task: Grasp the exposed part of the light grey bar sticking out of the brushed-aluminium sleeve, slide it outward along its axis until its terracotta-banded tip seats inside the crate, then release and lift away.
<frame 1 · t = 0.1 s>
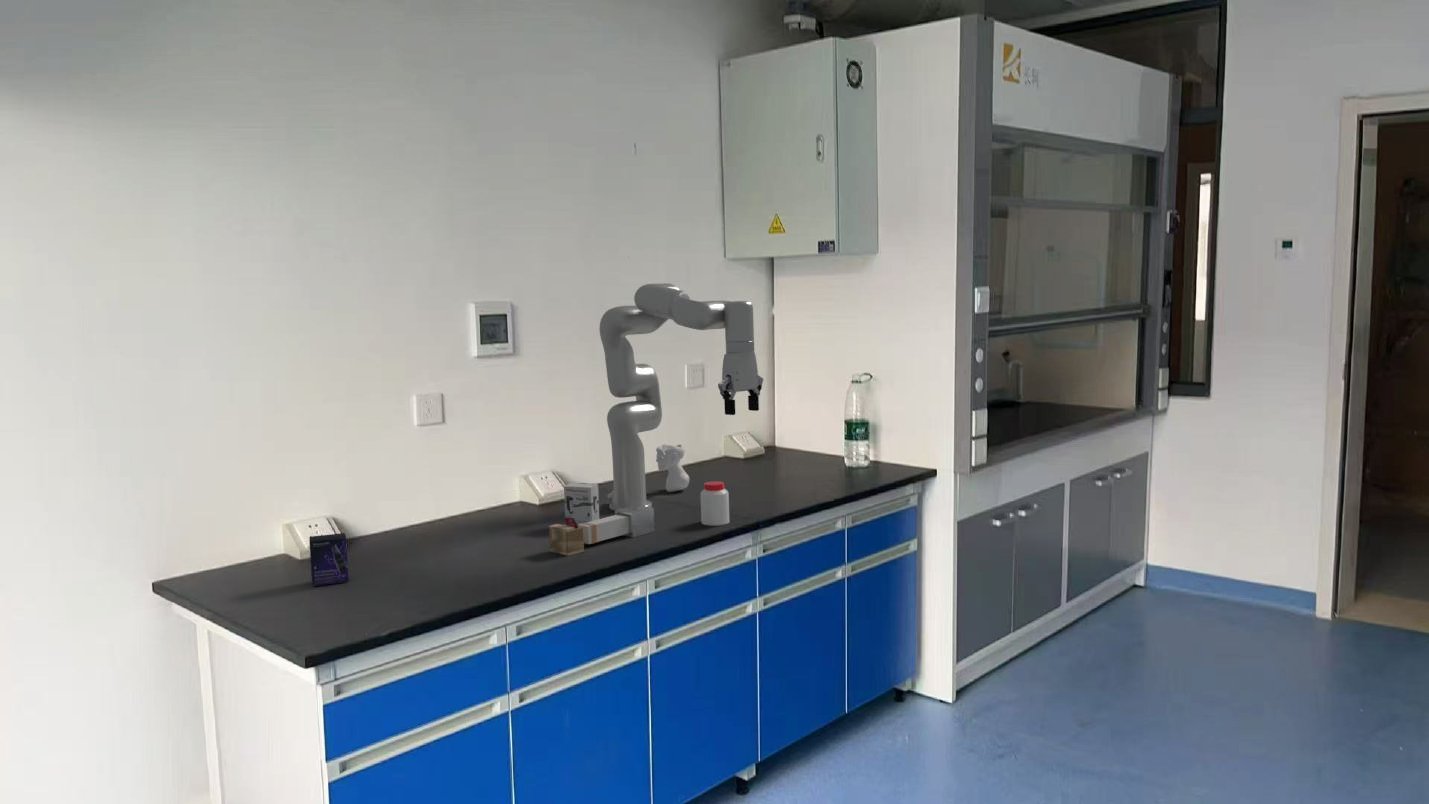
hand: (742, 412, 267), 31 cm above the counter, fingers open, 9 cm apart
light grey bar: (615, 525, 264), point 3 cm above the counter, slide at 0.0 cm
pill bottle: (715, 523, 278), on the counter
white bust sculpture: (672, 492, 322), on the counter
crate: (567, 551, 252), on the counter
sleeve: (635, 532, 269), on the counter
box: (330, 582, 232), on the counter
ink box: (582, 526, 279), on the counter
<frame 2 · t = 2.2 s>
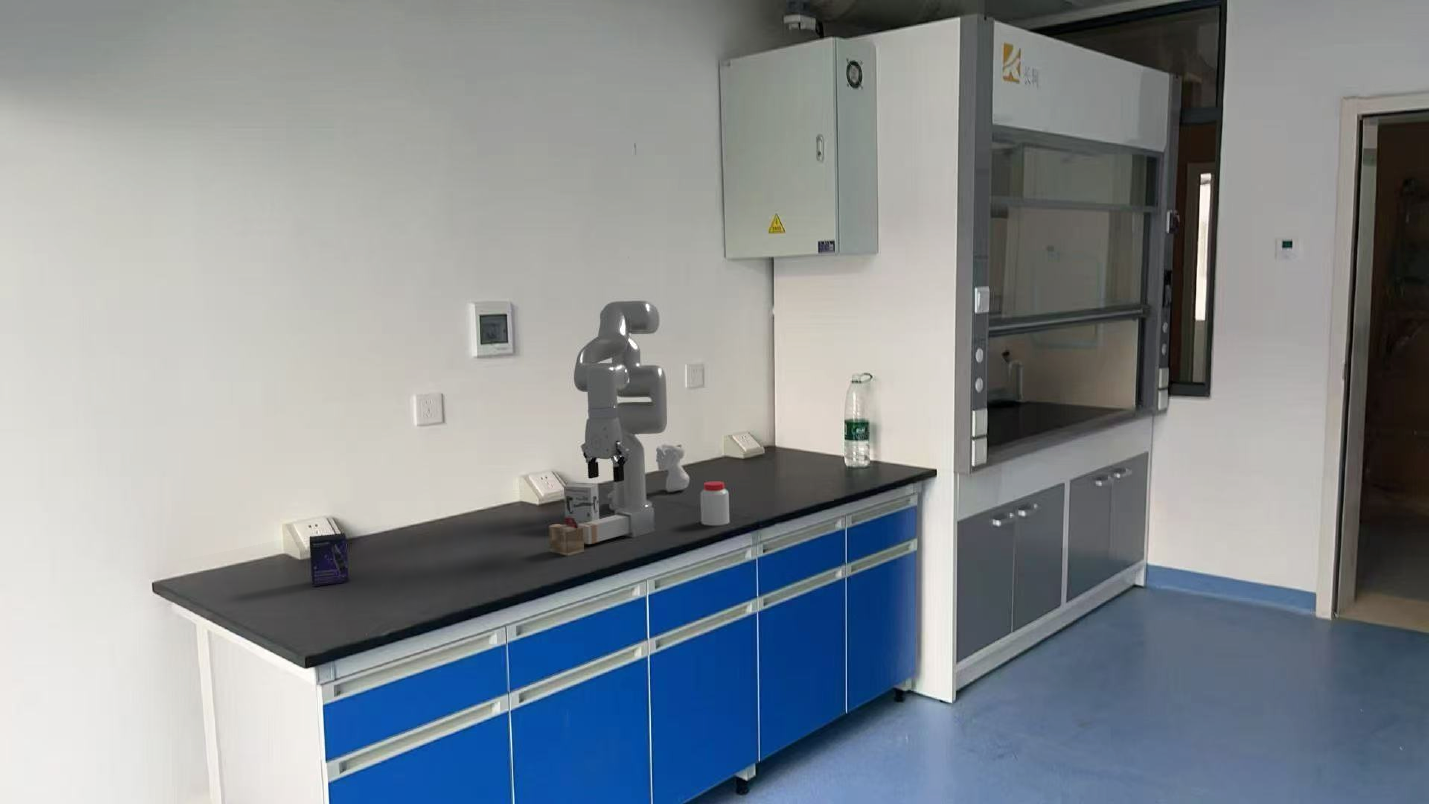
hand: (606, 479, 260), 16 cm above the counter, fingers open, 9 cm apart
nothing on the counter moved.
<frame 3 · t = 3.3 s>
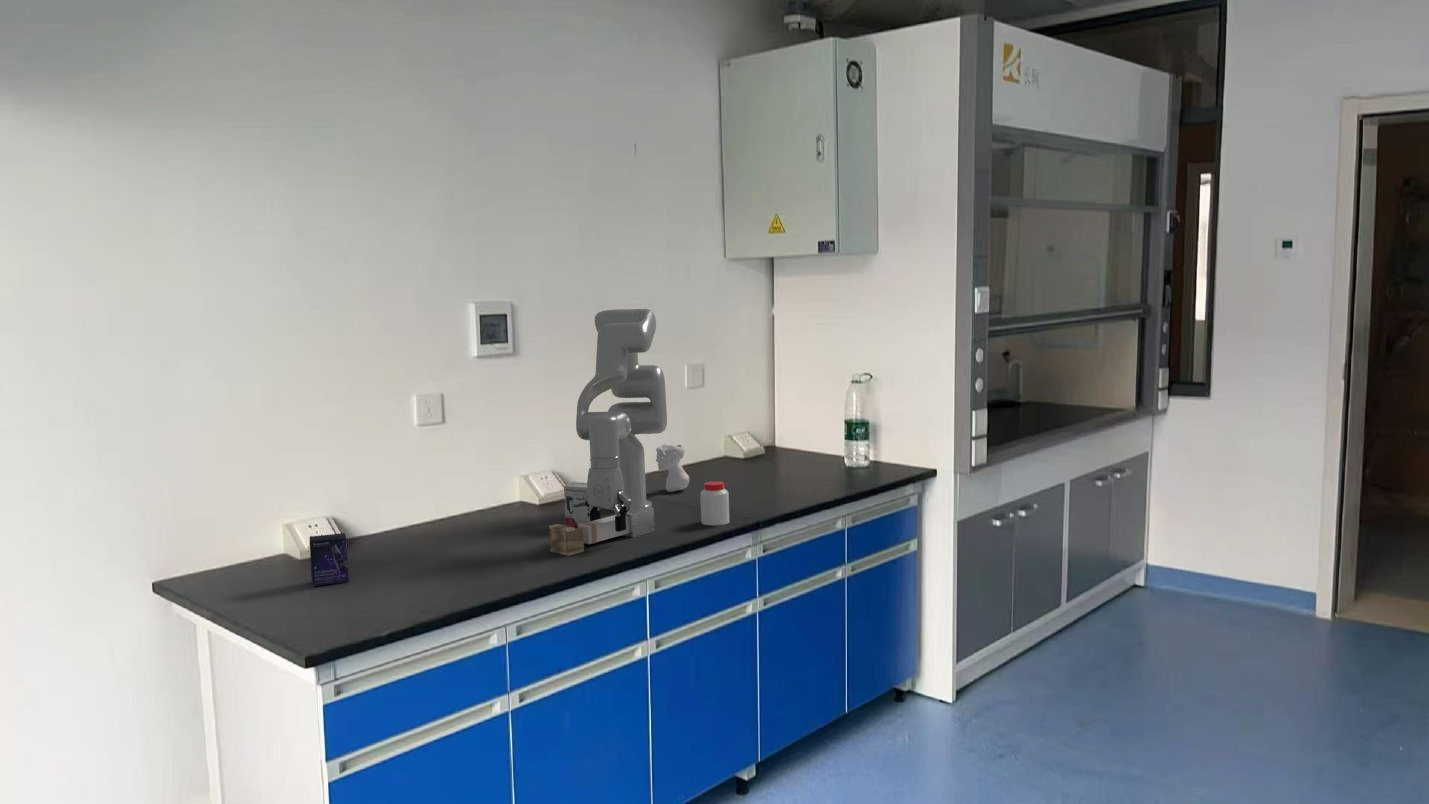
hand: (608, 528, 261), 3 cm above the counter, fingers open, 9 cm apart
nothing on the counter moved.
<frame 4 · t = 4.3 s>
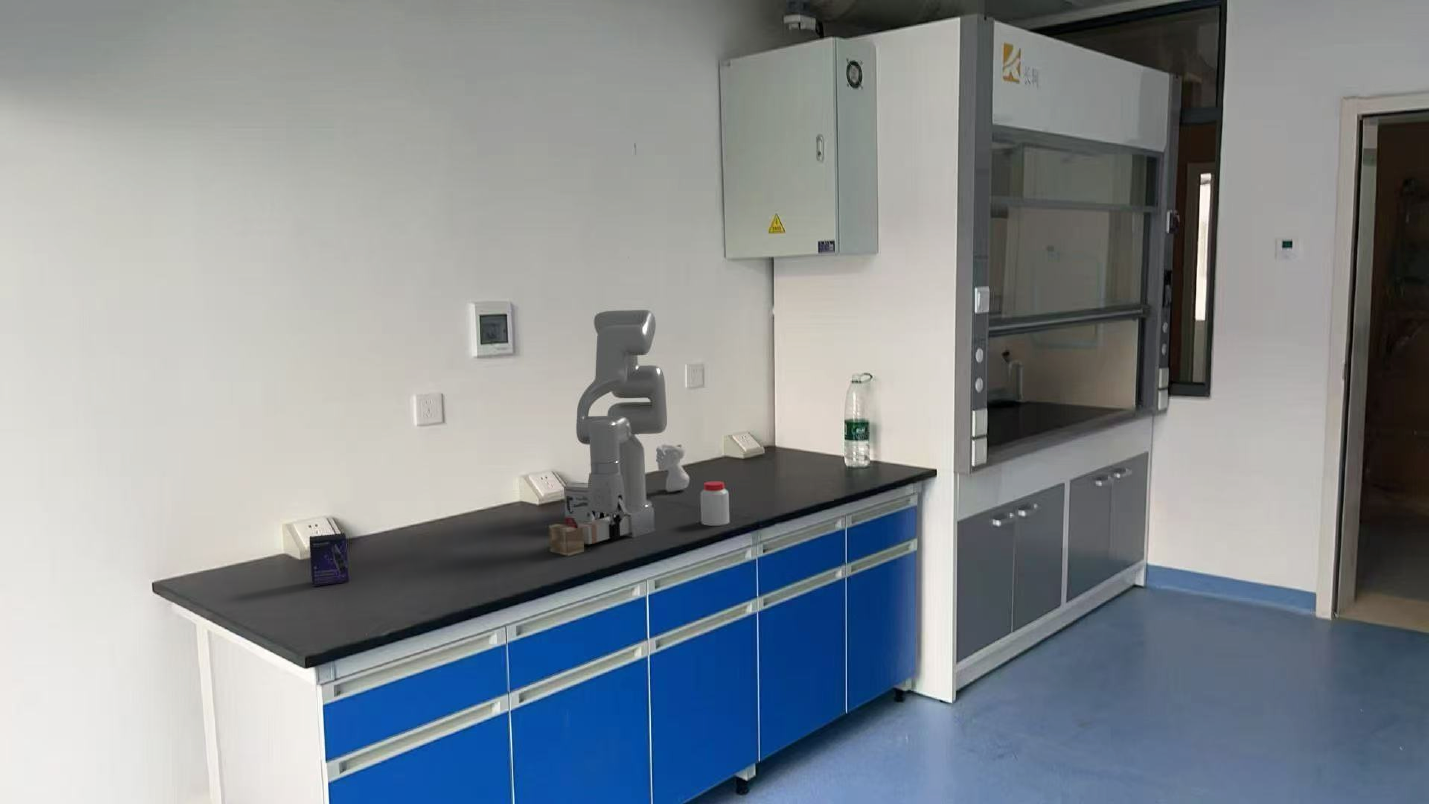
hand: (608, 536, 262), 1 cm above the counter, fingers closed on light grey bar, 4 cm apart
light grey bar: (615, 525, 264), point 3 cm above the counter, slide at 0.0 cm, touching gripper
everything else where it was.
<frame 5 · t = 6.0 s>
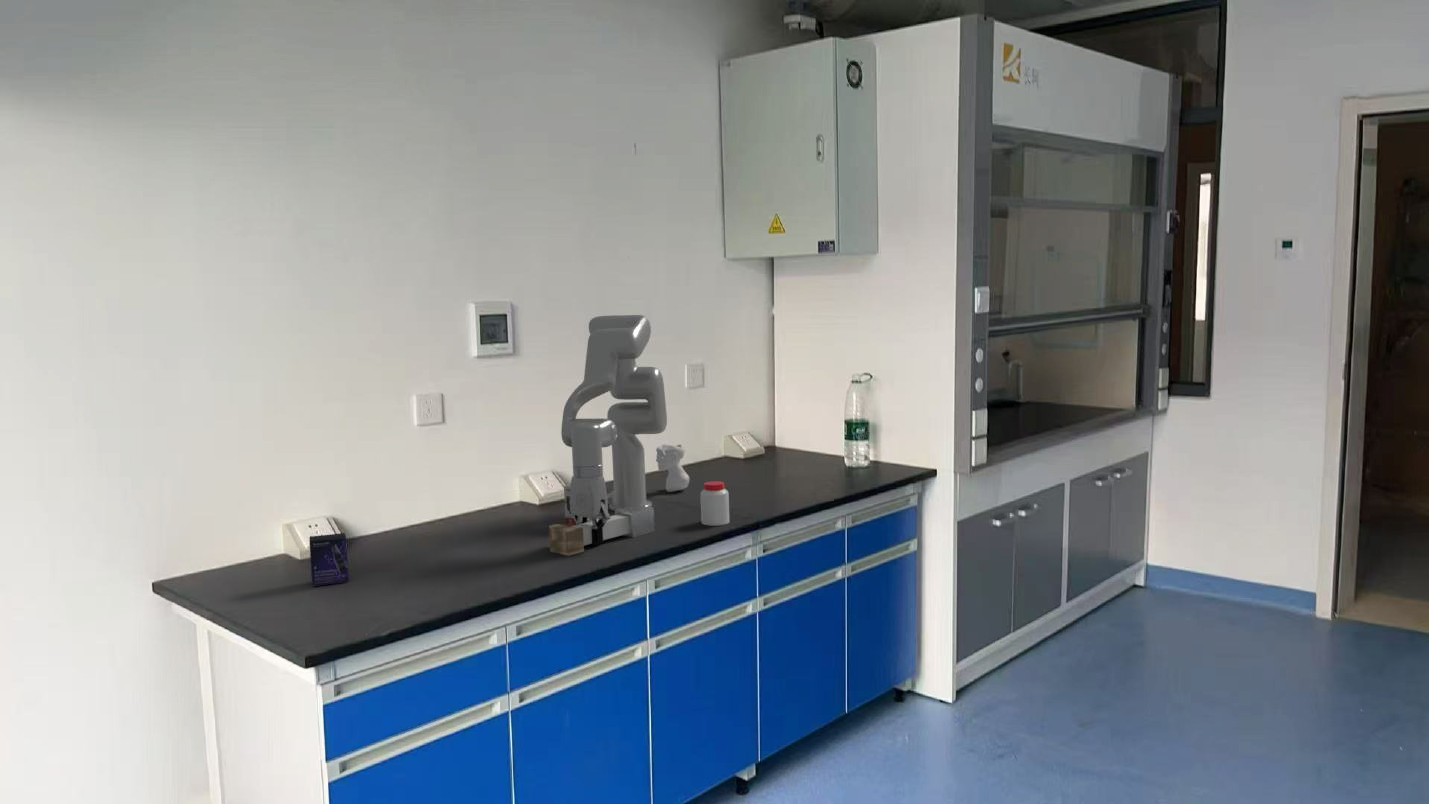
hand: (591, 541, 258), 1 cm above the counter, fingers closed on light grey bar, 4 cm apart
light grey bar: (598, 530, 259), point 3 cm above the counter, slide at 5.9 cm, touching gripper
everything else where it was.
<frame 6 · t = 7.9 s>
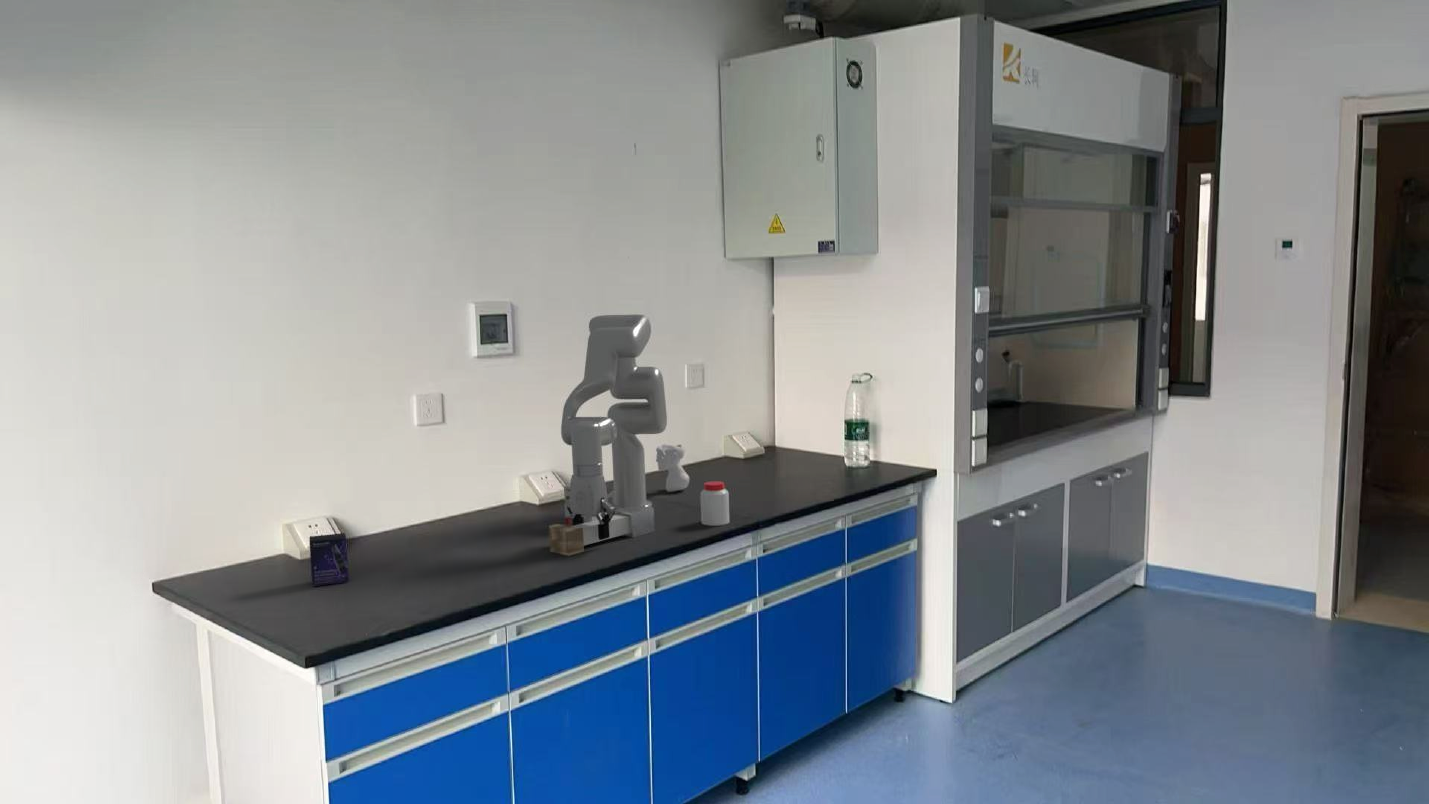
hand: (591, 535, 258), 2 cm above the counter, fingers open, 9 cm apart
light grey bar: (598, 530, 259), point 3 cm above the counter, slide at 6.0 cm
everything else where it was.
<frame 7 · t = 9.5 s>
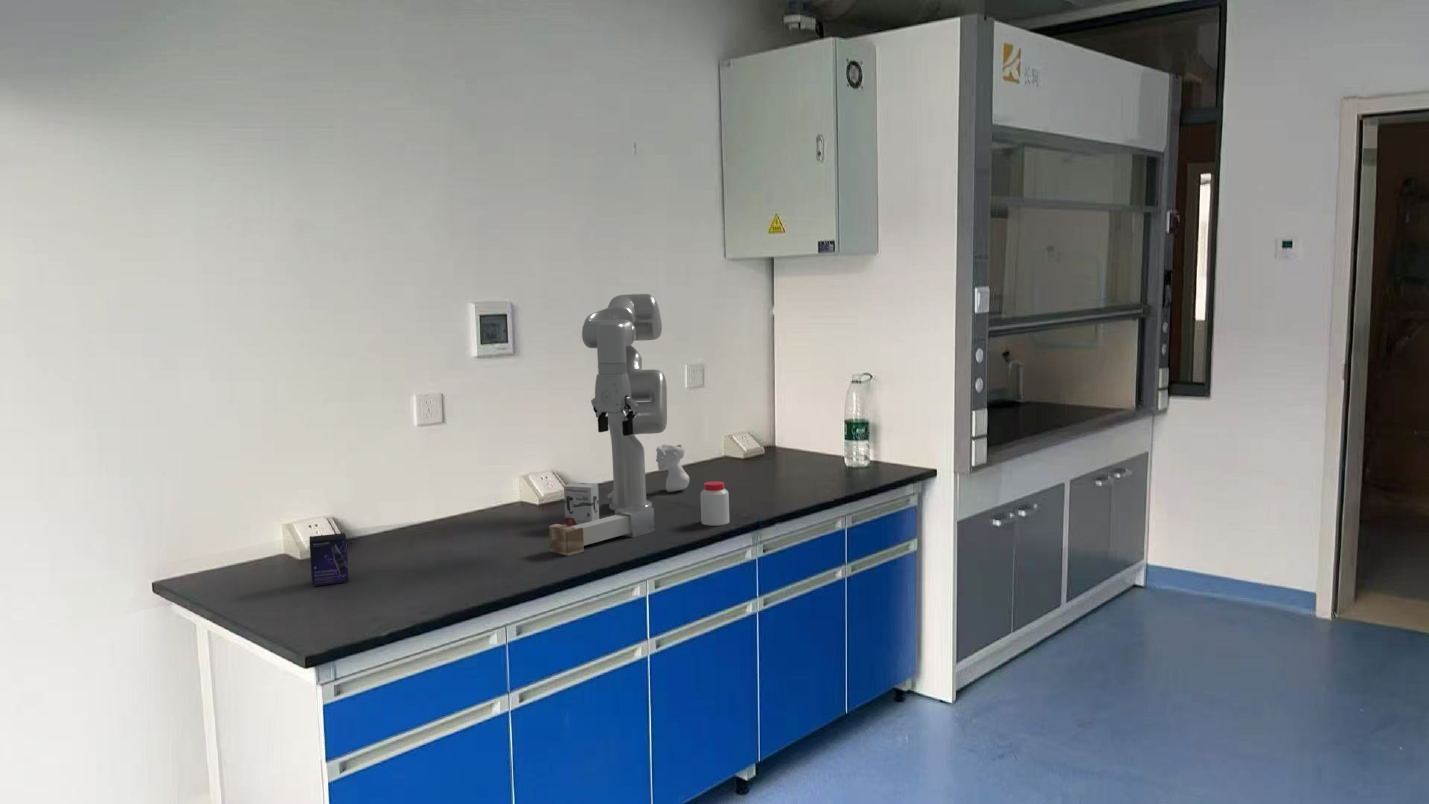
hand: (615, 433, 268), 27 cm above the counter, fingers open, 9 cm apart
nothing on the counter moved.
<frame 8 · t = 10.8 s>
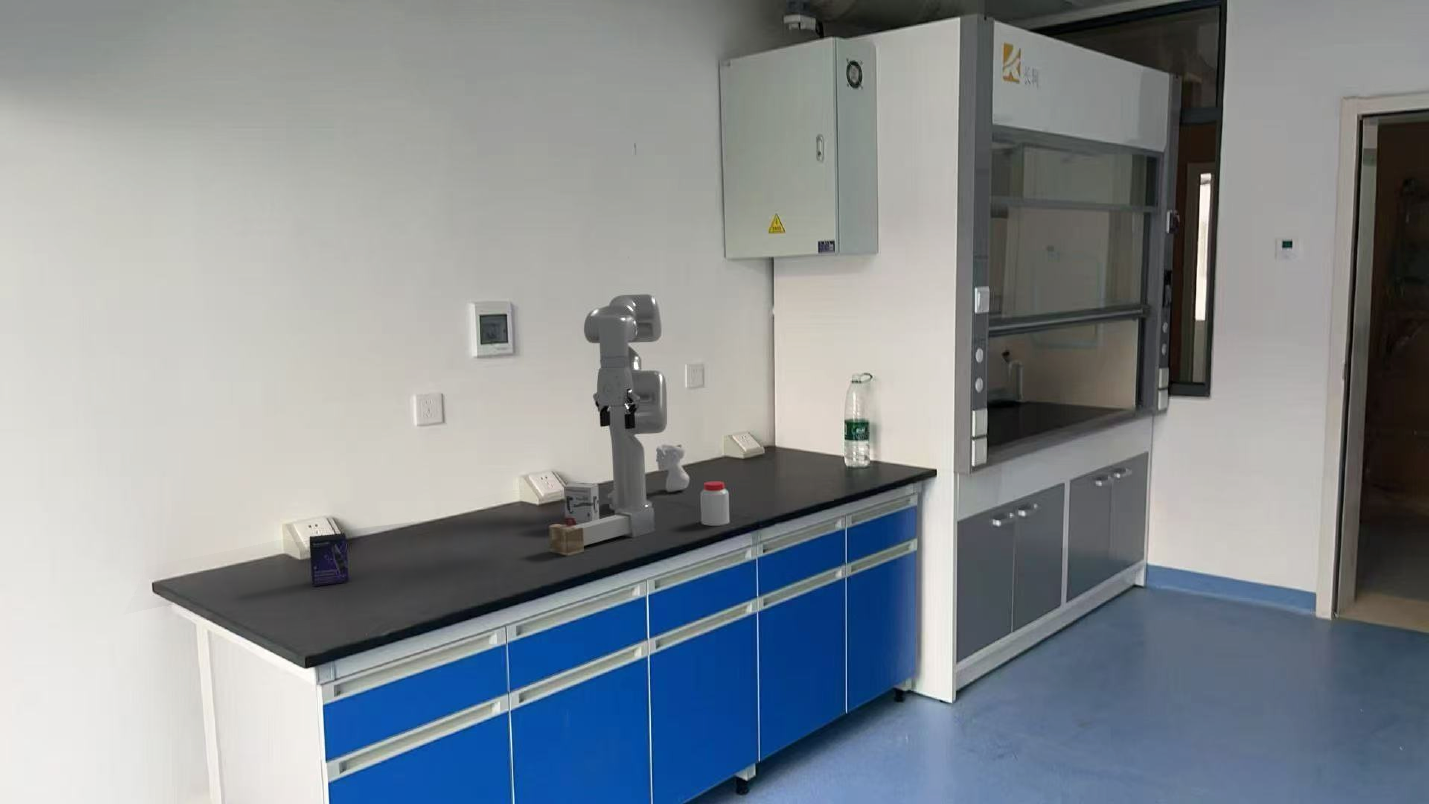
hand: (617, 427, 268), 28 cm above the counter, fingers open, 9 cm apart
nothing on the counter moved.
at the end: light grey bar slide at 6.0 cm; the gripper is holding nothing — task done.
